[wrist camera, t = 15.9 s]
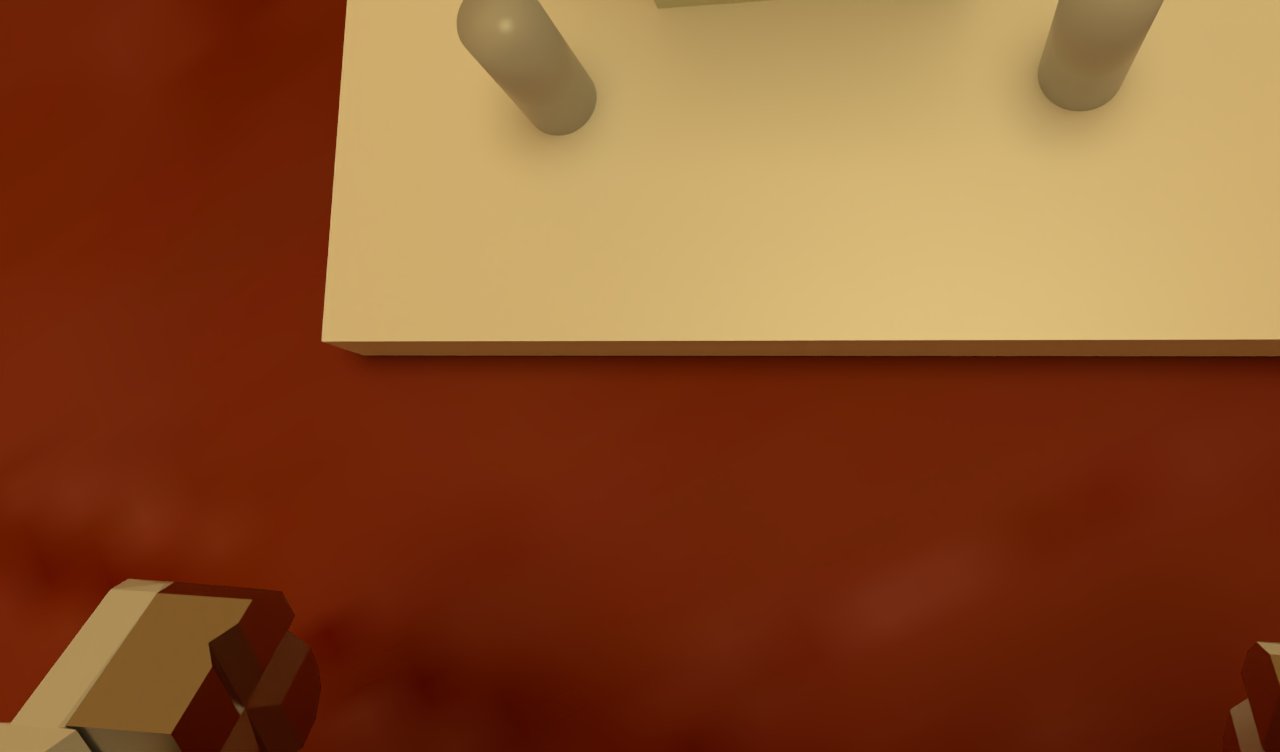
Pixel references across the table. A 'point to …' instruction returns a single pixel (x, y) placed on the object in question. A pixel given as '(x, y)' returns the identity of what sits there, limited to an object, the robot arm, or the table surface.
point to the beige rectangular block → (696, 2)
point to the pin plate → (807, 178)
